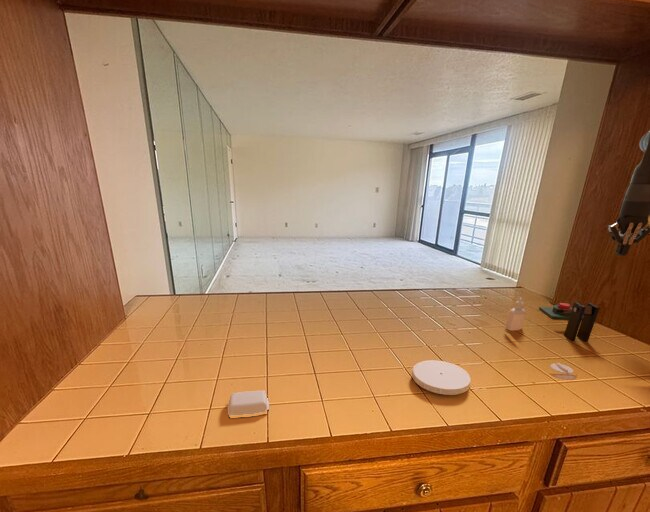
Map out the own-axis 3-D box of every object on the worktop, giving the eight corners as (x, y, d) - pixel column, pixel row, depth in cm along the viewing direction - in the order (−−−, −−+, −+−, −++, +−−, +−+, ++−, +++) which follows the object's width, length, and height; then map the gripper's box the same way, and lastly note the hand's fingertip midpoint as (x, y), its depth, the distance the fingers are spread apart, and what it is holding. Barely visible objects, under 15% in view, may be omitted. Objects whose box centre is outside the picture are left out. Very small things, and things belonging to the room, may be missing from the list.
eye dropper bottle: (523, 334, 116) (532, 301, 111) (505, 333, 117) (513, 299, 112) (519, 329, 120) (527, 296, 115) (501, 328, 121) (509, 295, 116)
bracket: (553, 334, 117) (564, 298, 112) (578, 336, 116) (590, 300, 111) (570, 348, 107) (582, 309, 103) (597, 349, 107) (611, 311, 102)
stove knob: (565, 366, 97) (567, 359, 96) (583, 380, 90) (585, 373, 90) (539, 365, 97) (541, 359, 96) (555, 379, 90) (557, 373, 89)
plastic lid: (431, 362, 97) (432, 355, 96) (479, 384, 88) (481, 375, 87) (400, 380, 89) (401, 371, 88) (450, 405, 79) (452, 396, 78)
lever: (554, 314, 119) (554, 307, 119) (569, 315, 119) (569, 308, 119) (579, 313, 106) (579, 305, 106) (596, 314, 106) (596, 306, 106)
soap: (268, 396, 81) (267, 386, 80) (270, 415, 75) (269, 403, 74) (228, 400, 79) (227, 390, 78) (227, 420, 73) (225, 408, 72)
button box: (569, 313, 136) (572, 304, 134) (585, 323, 126) (588, 313, 125) (538, 312, 136) (540, 302, 135) (550, 321, 127) (553, 311, 126)
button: (565, 307, 132) (567, 302, 131) (571, 310, 128) (572, 306, 128) (555, 306, 132) (557, 302, 131) (561, 310, 128) (562, 305, 128)
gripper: (624, 200, 104) (606, 257, 110) (672, 200, 103) (651, 258, 109) (608, 198, 111) (592, 252, 117) (653, 199, 109) (634, 253, 116)
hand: (620, 255), depth 113 cm, fingers closed
